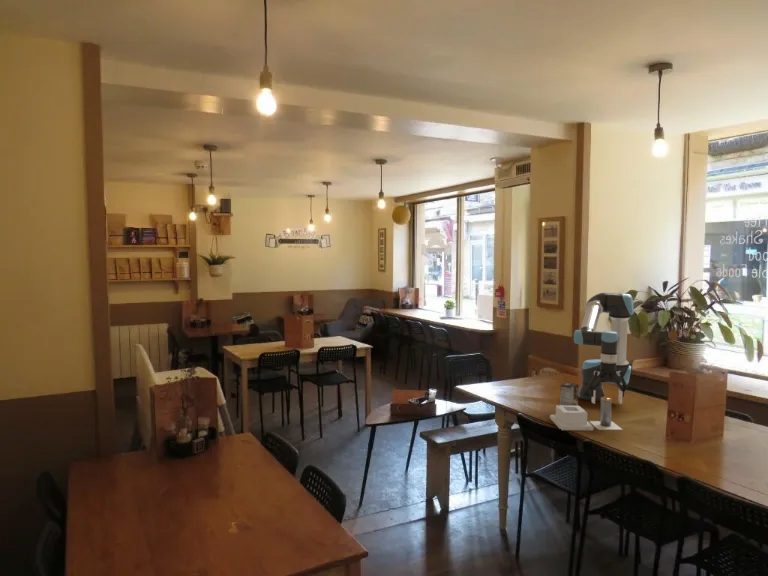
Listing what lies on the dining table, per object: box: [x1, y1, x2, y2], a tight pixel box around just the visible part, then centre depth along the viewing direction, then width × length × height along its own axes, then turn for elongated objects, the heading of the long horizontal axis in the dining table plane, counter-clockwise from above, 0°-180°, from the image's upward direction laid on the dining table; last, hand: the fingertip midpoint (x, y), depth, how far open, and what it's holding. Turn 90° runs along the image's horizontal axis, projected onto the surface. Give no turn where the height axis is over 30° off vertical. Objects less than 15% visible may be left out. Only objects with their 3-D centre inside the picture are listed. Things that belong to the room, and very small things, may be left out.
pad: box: [588, 420, 623, 431], centre depth 268 cm, size 12×12×1 cm
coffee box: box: [559, 381, 579, 406], centre depth 287 cm, size 9×6×16 cm
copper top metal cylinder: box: [600, 396, 612, 427], centre depth 267 cm, size 5×5×14 cm
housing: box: [549, 404, 594, 431], centre depth 270 cm, size 18×16×8 cm
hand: (606, 403), depth 267 cm, fingers open, 13 cm apart
